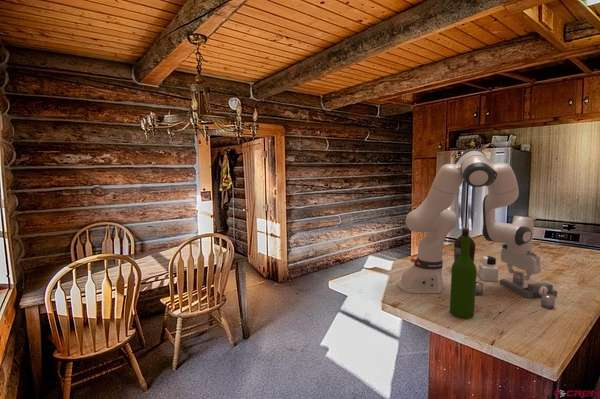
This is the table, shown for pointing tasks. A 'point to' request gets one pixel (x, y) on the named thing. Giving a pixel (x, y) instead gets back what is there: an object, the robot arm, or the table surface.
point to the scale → (531, 289)
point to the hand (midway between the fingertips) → (518, 276)
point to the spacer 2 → (518, 277)
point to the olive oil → (458, 245)
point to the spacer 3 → (548, 301)
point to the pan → (522, 286)
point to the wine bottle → (463, 283)
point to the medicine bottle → (488, 269)
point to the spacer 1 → (479, 288)
